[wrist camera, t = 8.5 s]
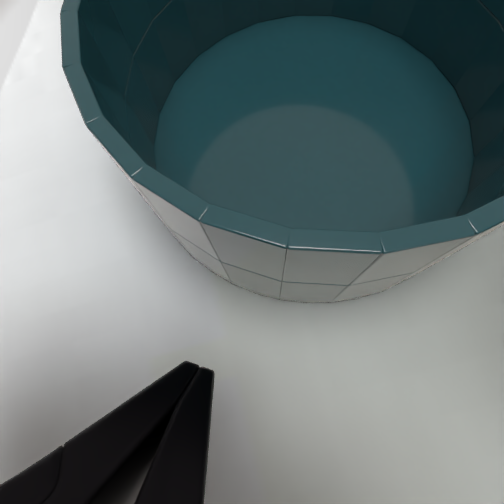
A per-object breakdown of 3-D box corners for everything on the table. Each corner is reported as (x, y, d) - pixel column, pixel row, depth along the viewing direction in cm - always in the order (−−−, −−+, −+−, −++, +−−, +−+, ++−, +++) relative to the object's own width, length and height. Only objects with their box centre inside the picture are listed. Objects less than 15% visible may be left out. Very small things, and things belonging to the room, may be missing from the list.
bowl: (168, 336, 17) (70, 316, 9) (134, 48, 22) (54, -133, 14) (535, 262, 17) (785, 173, 9) (413, -7, 22) (496, -218, 14)
